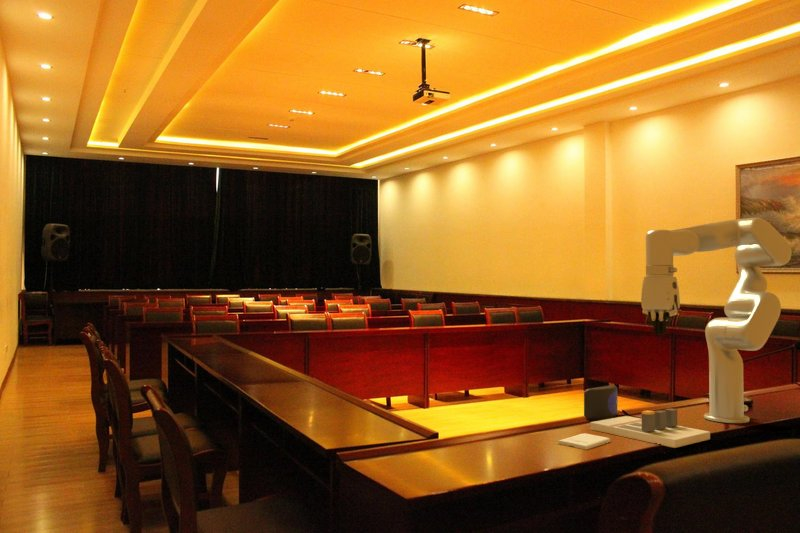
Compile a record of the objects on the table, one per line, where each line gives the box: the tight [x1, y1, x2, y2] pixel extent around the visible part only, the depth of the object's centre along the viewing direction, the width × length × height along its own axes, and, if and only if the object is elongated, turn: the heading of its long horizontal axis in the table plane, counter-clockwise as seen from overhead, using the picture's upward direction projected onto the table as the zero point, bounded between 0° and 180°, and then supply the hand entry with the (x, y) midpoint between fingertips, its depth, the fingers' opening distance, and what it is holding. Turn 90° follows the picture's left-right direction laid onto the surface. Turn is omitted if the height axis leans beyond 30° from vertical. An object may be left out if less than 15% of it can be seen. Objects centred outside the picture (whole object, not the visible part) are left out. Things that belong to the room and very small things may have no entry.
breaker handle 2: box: [664, 407, 678, 427], centre depth 181 cm, size 3×2×4 cm, turn 126°
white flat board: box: [589, 415, 711, 449], centre depth 180 cm, size 17×26×2 cm, turn 36°
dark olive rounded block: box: [583, 384, 619, 421], centre depth 203 cm, size 16×5×9 cm, turn 129°
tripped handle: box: [641, 409, 656, 432], centre depth 174 cm, size 3×2×5 cm, turn 126°
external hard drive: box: [557, 432, 611, 451], centre depth 169 cm, size 2×8×12 cm
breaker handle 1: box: [655, 409, 666, 429], centre depth 177 cm, size 3×2×4 cm, turn 126°
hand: (659, 334), depth 190 cm, fingers closed
